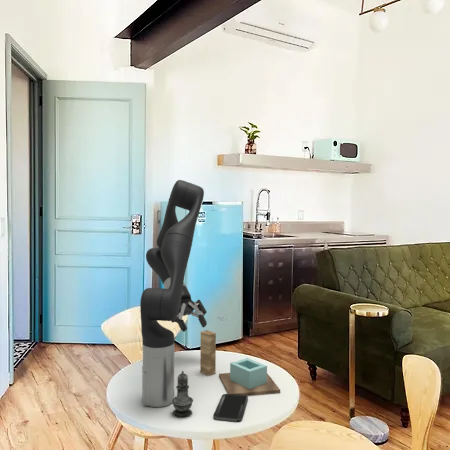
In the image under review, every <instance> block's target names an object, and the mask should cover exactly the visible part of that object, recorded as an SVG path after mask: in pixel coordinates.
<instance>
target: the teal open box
mask: <svg viewBox="0 0 450 450" xmlns="http://www.w3.org/2000/svg"><path fill="white" fill-rule="evenodd" d="M229 367H230V368H229V371H230V372H229V373H230V380H231V381H233V382H235V383H238V384H240V385H242V386H244V387H246V388H248V389H251V388H254V387H257V386H260V385H262V384H265V383H267V374H268V366H267V365H266V364H263V363H260V362H259V361H256V360H254V359H251V358H248V357H246V358H244V359H240V360H237V361H233V362H230V365H229Z"/></svg>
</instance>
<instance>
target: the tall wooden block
mask: <svg viewBox="0 0 450 450" xmlns="http://www.w3.org/2000/svg"><path fill="white" fill-rule="evenodd" d="M216 334H217V333H216V332H213V331H212V330H209V329H208V330H203V331H200V357H199V358H200V359H199V360H200V366H199V367H200V369H199V370H200V373H202V374H204V375H206V376H207V377H209V376H213V375H215V374H216V372H217V371H216V368H217V367H216V365H217V364H216V360H217V359H216V358H217V357H216V350H217V349H216V347H217V345H216V343H217V339H216V337H217V335H216Z"/></svg>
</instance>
